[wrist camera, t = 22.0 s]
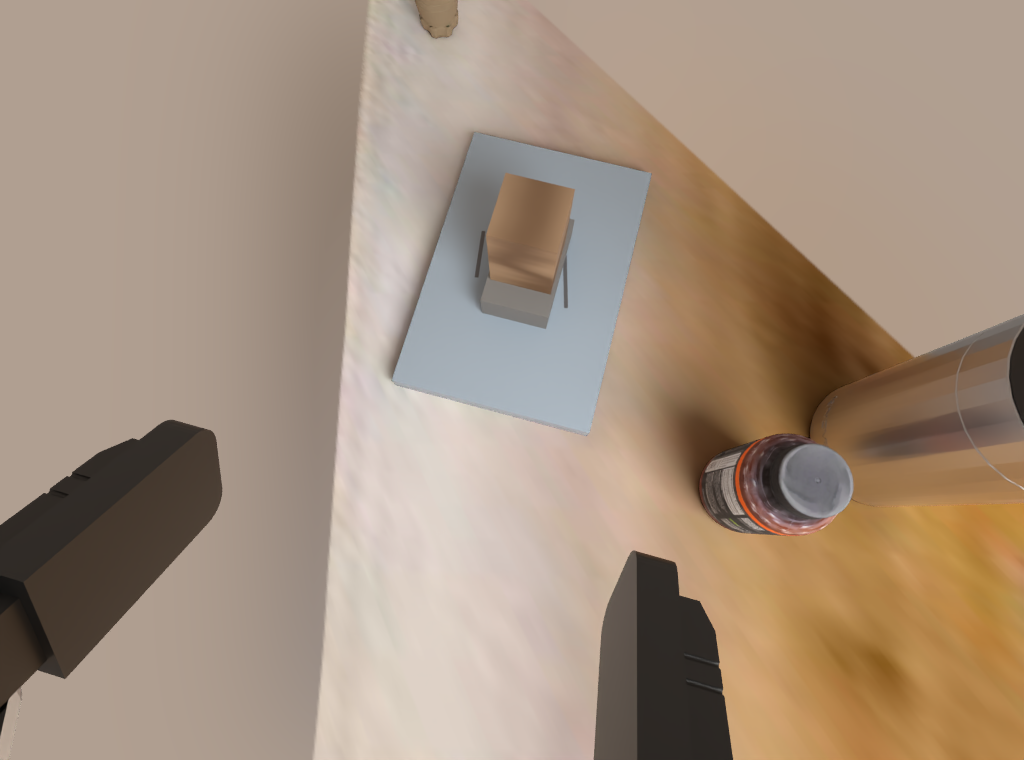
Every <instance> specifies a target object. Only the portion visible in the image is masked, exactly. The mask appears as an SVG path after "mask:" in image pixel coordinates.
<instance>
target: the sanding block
mask: <svg viewBox="0 0 1024 760" xmlns="http://www.w3.org/2000/svg"><path fill="white" fill-rule="evenodd" d="M574 192H575V189H572V188H568V187H564V186H560V185H555V184H551V183H547V182H543V181H539V180H534V179H530V178H526V177H522V176H518V175H513V174H509V173H505V176H504V179H503V182H502V186H501V189H500V192H499V195H498V198H497V202H496V205H495V208H494V211H493V214H492V218H491V221H490V224H489V227H488V230H487V233H486V241H487V251H488V261H489V274H488V277H487V280H486V284H485V287H484V290H483V294H482V297H481V300H480V301H481V308H482V313H485V314H489V315H493V316H496V317H500V318H504V319H508V320H512V321H516V322H520V323H524V324H528V325H531V326H535V327H539V328H543V329H546V327H547V324H548V320H549V316H550V313H551V309H552V305H553V302H554V298H555V294H556V291H557V287H558V283H559V280H560V276H561V272H562V269H563V265H564V261H565V258H566V254H567V250H568V247H569V243H570V239H571V236H572V231H573V226H574V221H575V220H573V219H570V214H571V209H572V203H573V198H574Z"/></svg>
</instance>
